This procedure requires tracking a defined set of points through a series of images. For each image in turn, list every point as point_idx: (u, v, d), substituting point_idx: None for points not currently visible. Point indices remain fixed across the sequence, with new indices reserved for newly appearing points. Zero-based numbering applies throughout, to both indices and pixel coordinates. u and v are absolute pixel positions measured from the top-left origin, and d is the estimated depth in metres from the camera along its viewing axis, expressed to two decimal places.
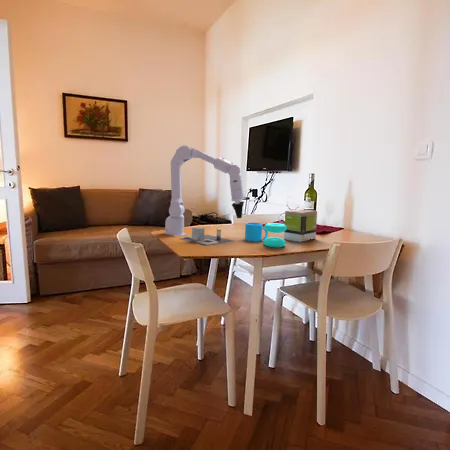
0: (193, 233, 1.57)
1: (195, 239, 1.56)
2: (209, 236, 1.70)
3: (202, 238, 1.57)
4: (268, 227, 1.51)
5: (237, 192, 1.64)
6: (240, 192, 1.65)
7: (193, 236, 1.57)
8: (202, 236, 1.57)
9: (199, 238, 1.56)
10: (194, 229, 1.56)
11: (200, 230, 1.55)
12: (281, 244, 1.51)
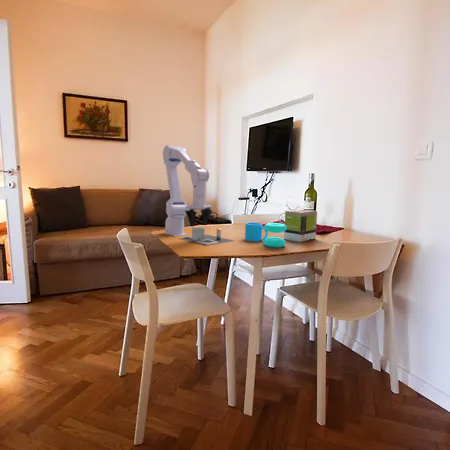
0: (193, 233, 1.57)
1: (195, 239, 1.56)
2: (209, 236, 1.70)
3: (202, 238, 1.57)
4: (268, 227, 1.51)
5: (195, 198, 1.53)
6: (198, 199, 1.52)
7: (193, 236, 1.57)
8: (202, 236, 1.57)
9: (199, 238, 1.56)
10: (194, 229, 1.56)
11: (200, 230, 1.55)
12: (281, 244, 1.51)
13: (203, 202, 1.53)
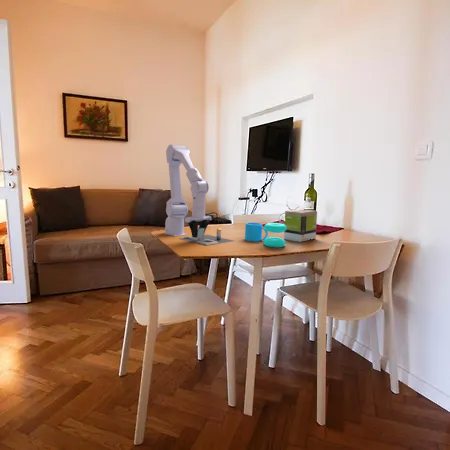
0: None
1: (195, 239, 1.56)
2: (209, 236, 1.70)
3: (202, 238, 1.57)
4: (268, 227, 1.51)
5: (194, 210, 1.53)
6: (198, 211, 1.53)
7: None
8: (202, 236, 1.57)
9: (199, 238, 1.56)
10: None
11: (200, 230, 1.55)
12: (281, 244, 1.51)
13: (203, 214, 1.54)
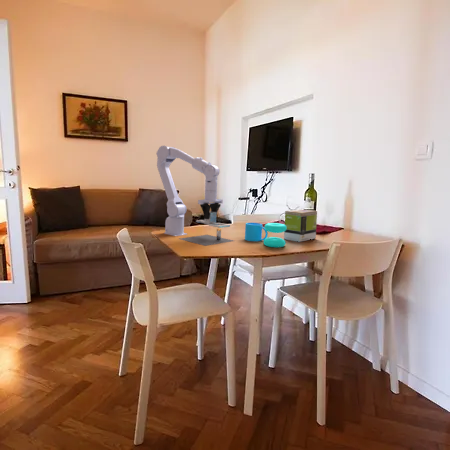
0: None
1: (207, 222, 1.63)
2: (209, 236, 1.70)
3: (214, 221, 1.64)
4: (268, 227, 1.51)
5: (207, 193, 1.61)
6: (210, 193, 1.60)
7: (206, 219, 1.64)
8: (214, 219, 1.64)
9: (211, 221, 1.63)
10: None
11: (212, 214, 1.63)
12: (281, 244, 1.51)
13: (215, 196, 1.61)
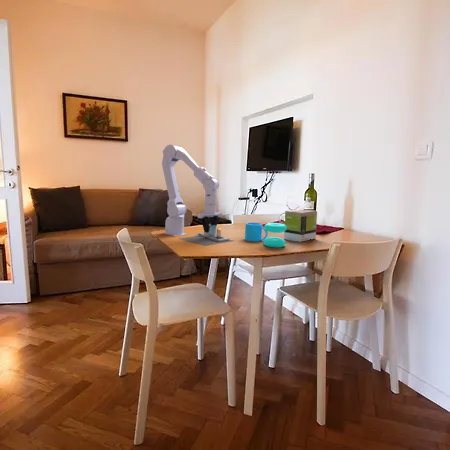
0: None
1: (207, 235, 1.64)
2: None
3: (214, 234, 1.65)
4: (268, 227, 1.51)
5: (206, 206, 1.62)
6: (209, 207, 1.61)
7: (205, 232, 1.65)
8: (214, 233, 1.65)
9: (211, 234, 1.64)
10: None
11: (212, 227, 1.63)
12: (281, 244, 1.51)
13: (214, 210, 1.62)
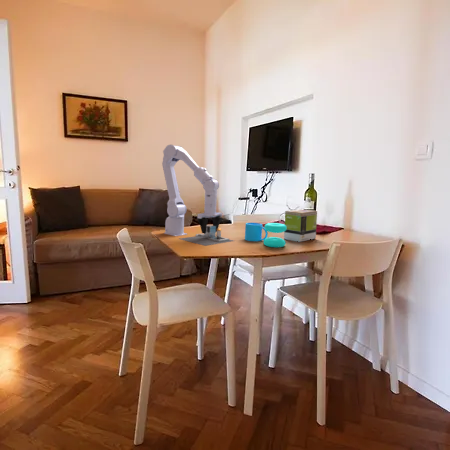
0: None
1: (207, 236, 1.64)
2: None
3: (214, 235, 1.65)
4: (268, 227, 1.51)
5: (206, 207, 1.62)
6: (209, 208, 1.61)
7: (205, 233, 1.65)
8: (214, 233, 1.65)
9: (211, 235, 1.64)
10: (206, 227, 1.64)
11: (212, 228, 1.64)
12: (281, 244, 1.51)
13: (214, 210, 1.62)
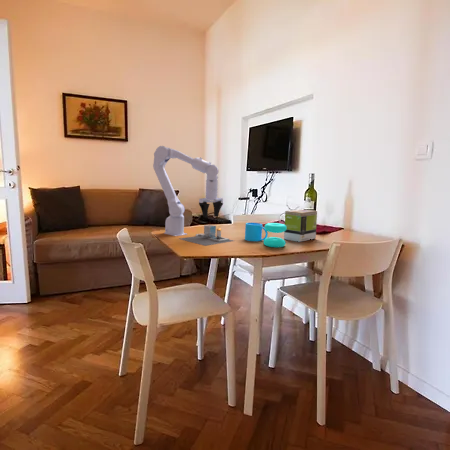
0: (205, 230, 1.65)
1: (207, 236, 1.64)
2: None
3: (214, 235, 1.65)
4: (268, 227, 1.51)
5: (208, 192, 1.66)
6: (211, 192, 1.66)
7: (205, 233, 1.65)
8: (214, 233, 1.65)
9: (211, 235, 1.64)
10: (206, 227, 1.64)
11: (212, 228, 1.64)
12: (281, 244, 1.51)
13: (215, 195, 1.67)
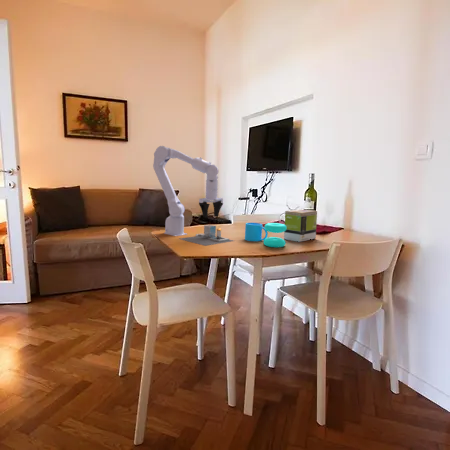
0: (205, 230, 1.65)
1: (207, 236, 1.64)
2: None
3: (214, 235, 1.65)
4: (268, 227, 1.51)
5: (208, 192, 1.66)
6: (211, 192, 1.66)
7: (205, 233, 1.65)
8: (214, 233, 1.65)
9: (211, 235, 1.64)
10: (206, 227, 1.64)
11: (212, 228, 1.64)
12: (281, 244, 1.51)
13: (215, 195, 1.67)
